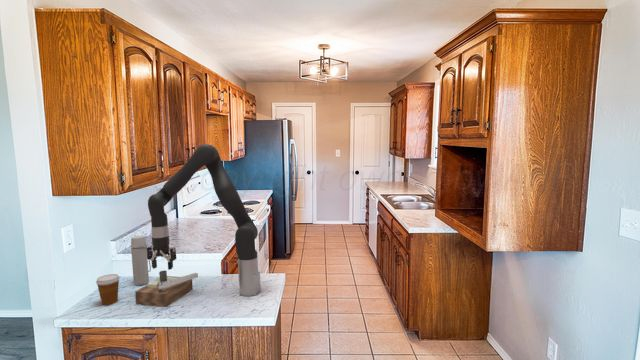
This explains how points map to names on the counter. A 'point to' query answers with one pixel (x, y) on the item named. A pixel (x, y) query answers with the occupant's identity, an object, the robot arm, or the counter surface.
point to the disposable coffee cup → (108, 288)
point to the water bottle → (139, 260)
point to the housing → (163, 294)
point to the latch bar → (176, 281)
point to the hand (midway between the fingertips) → (162, 268)
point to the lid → (161, 279)
